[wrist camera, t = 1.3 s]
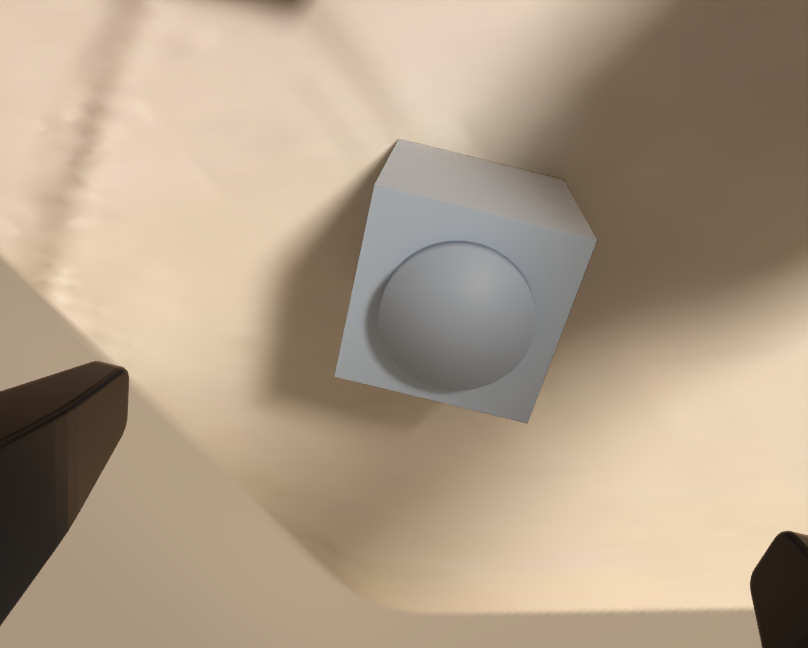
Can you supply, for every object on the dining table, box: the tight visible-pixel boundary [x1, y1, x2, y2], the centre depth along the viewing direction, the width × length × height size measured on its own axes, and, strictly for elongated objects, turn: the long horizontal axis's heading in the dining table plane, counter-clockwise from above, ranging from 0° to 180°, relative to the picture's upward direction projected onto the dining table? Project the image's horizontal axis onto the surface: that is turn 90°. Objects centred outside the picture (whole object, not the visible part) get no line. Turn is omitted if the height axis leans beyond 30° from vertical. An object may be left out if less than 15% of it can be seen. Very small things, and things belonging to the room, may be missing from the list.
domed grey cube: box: [334, 139, 597, 423], centre depth 16 cm, size 4×4×6 cm
